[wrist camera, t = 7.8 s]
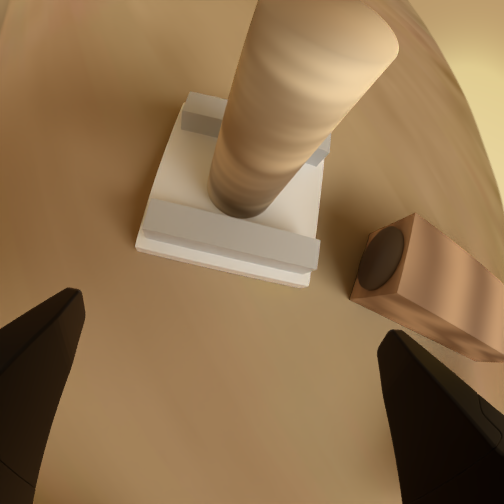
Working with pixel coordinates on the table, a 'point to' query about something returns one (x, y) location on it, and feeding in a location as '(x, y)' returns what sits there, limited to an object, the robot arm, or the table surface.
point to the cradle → (219, 224)
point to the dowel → (292, 94)
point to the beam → (432, 288)
